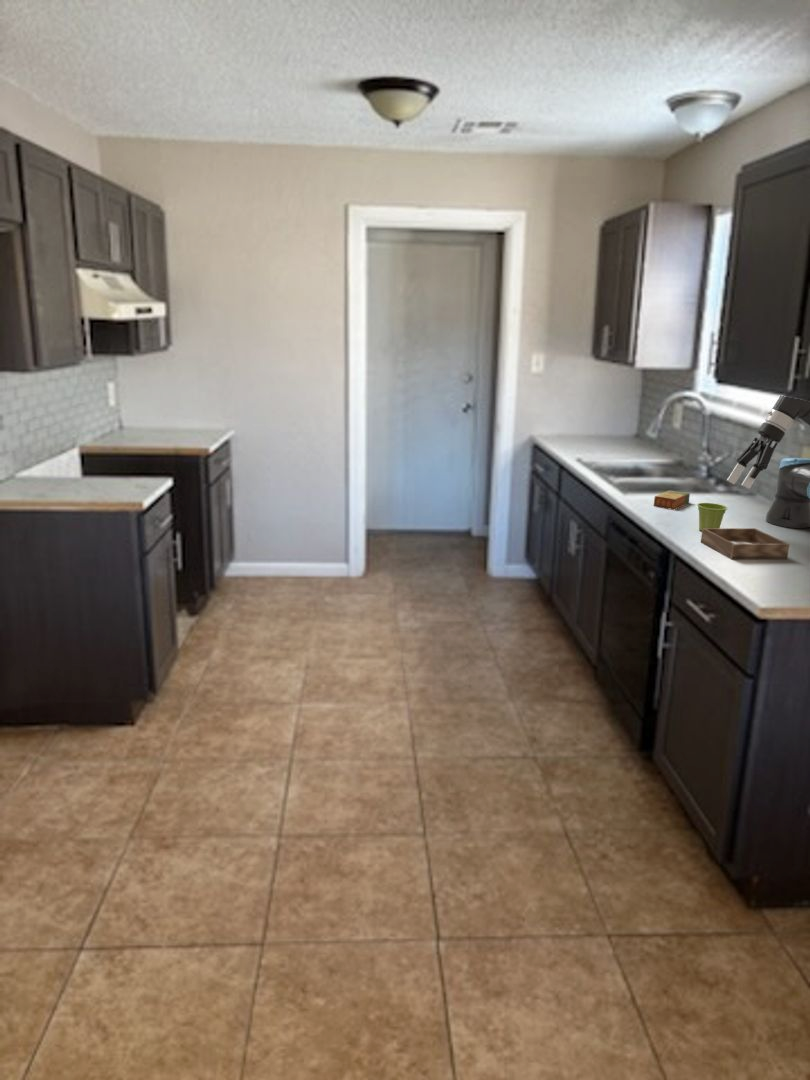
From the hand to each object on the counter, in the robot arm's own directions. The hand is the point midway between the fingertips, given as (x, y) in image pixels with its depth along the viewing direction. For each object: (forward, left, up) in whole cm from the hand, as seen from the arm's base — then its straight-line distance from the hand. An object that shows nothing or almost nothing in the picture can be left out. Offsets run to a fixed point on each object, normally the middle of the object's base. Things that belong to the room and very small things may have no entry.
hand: (737, 484), depth 268 cm
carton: (0, -41, -17) cm, 44 cm away
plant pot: (+6, -3, -17) cm, 18 cm away
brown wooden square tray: (+7, +19, -16) cm, 26 cm away
